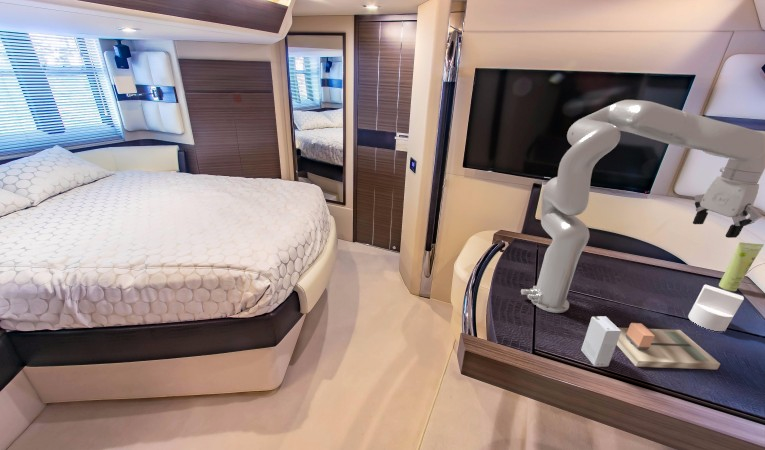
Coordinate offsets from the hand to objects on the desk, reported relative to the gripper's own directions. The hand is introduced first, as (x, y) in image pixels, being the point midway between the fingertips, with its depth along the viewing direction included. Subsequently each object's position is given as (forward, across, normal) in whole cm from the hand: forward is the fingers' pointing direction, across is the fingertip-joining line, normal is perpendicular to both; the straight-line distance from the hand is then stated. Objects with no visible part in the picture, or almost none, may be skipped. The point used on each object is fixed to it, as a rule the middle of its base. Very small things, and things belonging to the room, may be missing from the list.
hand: (713, 230), depth 98 cm
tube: (+30, -11, +34) cm, 46 cm away
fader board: (+30, +17, -23) cm, 41 cm away
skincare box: (+30, +18, -44) cm, 57 cm away
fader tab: (+28, +16, -30) cm, 44 cm away
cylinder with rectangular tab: (+30, +7, +4) cm, 31 cm away
